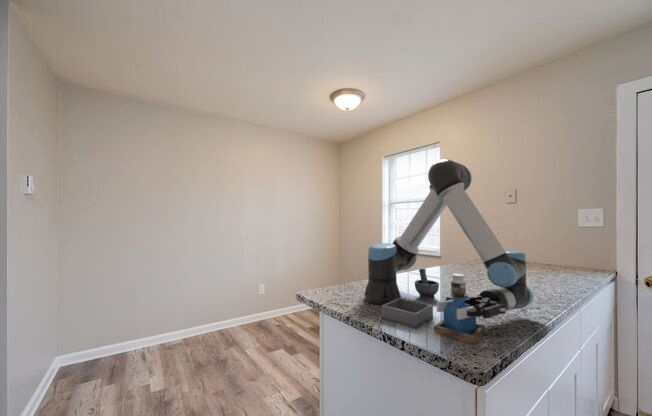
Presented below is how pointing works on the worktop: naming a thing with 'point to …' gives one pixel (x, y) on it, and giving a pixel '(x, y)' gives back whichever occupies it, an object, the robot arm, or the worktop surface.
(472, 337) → the holder
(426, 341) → the worktop surface
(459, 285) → the pill bottle
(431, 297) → the mortar and pestle
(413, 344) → the worktop surface
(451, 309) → the perfume bottle
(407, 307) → the bin
